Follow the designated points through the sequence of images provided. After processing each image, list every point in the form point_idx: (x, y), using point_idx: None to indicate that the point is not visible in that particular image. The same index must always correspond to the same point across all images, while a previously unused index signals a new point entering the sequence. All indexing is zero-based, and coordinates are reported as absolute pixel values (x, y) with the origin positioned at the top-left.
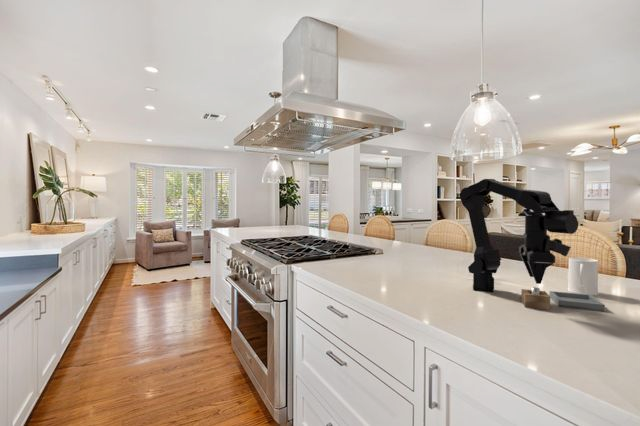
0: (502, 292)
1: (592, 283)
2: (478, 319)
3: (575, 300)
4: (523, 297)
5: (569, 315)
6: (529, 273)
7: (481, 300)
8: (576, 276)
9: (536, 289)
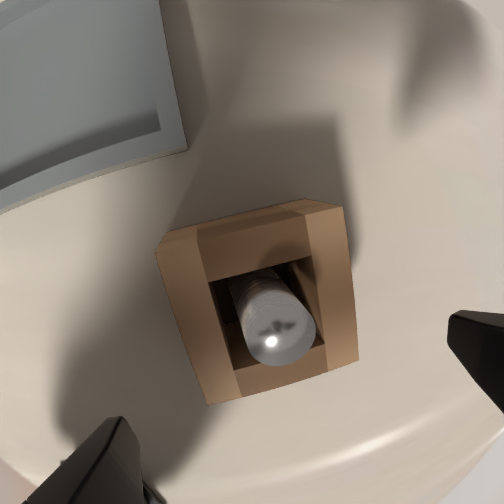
0: None
1: None
2: None
3: (24, 77)
4: None
5: (350, 109)
6: (140, 475)
7: (309, 464)
8: None
9: (312, 322)
